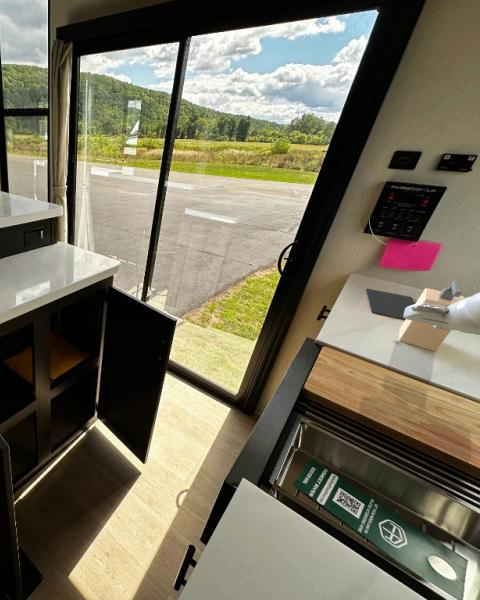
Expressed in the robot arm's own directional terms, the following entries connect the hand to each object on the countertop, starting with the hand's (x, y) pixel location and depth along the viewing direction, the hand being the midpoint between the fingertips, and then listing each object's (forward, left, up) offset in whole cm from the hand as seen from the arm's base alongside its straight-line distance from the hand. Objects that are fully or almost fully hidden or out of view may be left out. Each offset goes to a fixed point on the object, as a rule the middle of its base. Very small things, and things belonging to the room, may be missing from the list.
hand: (440, 326), depth 92 cm
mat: (+3, -30, -10) cm, 32 cm away
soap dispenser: (0, -6, -11) cm, 12 cm away
